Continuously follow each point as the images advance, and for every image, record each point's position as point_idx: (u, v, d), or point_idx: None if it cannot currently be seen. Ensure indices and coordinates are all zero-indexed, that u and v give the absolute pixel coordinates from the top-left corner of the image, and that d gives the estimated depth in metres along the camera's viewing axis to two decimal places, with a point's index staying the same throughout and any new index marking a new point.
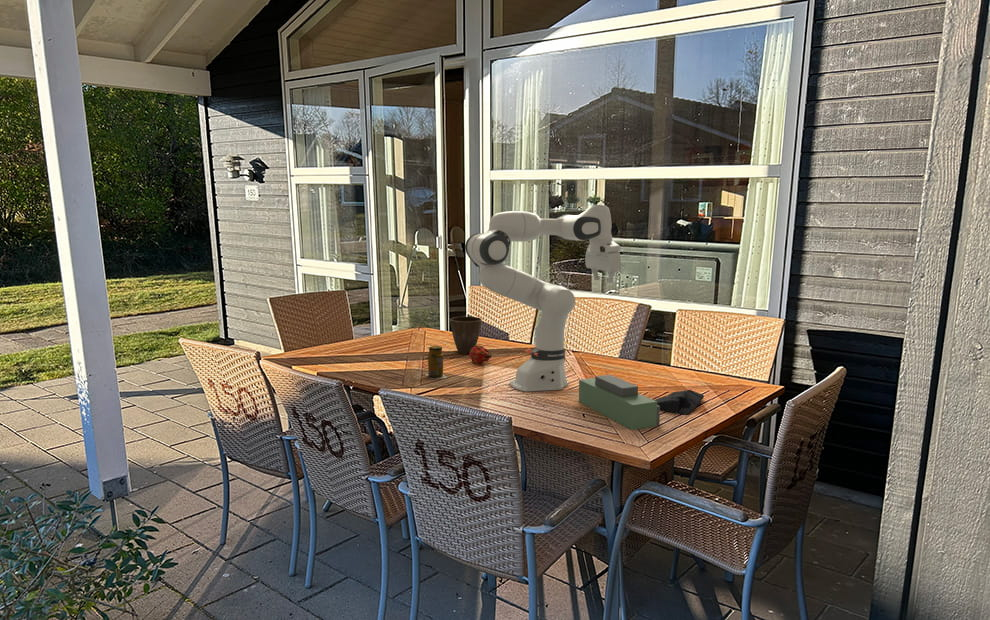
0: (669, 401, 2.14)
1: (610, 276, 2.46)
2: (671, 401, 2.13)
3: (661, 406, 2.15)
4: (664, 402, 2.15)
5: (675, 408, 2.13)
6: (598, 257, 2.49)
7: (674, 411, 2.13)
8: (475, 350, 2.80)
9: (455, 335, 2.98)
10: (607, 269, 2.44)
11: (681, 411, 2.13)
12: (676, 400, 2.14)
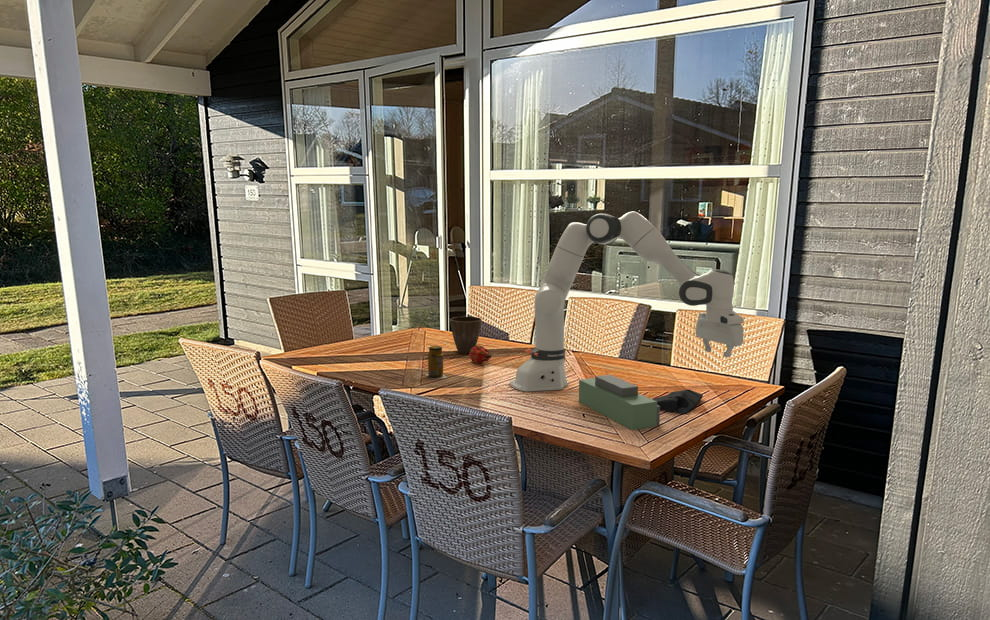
0: (667, 400, 2.15)
1: (728, 350, 2.21)
2: (669, 400, 2.14)
3: (659, 405, 2.16)
4: (662, 401, 2.16)
5: (673, 408, 2.14)
6: (715, 327, 2.25)
7: (672, 410, 2.14)
8: (475, 350, 2.80)
9: (455, 335, 2.98)
10: (726, 342, 2.19)
11: (679, 410, 2.13)
12: (674, 399, 2.15)
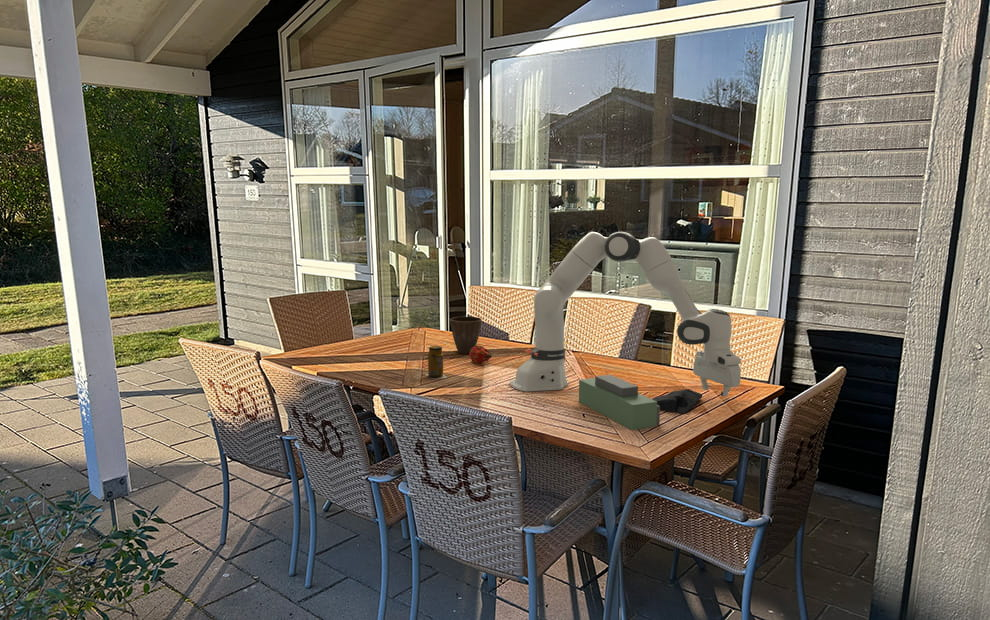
0: (666, 400, 2.15)
1: (726, 390, 2.23)
2: (668, 400, 2.15)
3: None
4: (661, 401, 2.16)
5: (672, 407, 2.14)
6: (712, 367, 2.27)
7: (671, 410, 2.14)
8: (475, 350, 2.80)
9: (455, 335, 2.98)
10: (724, 382, 2.22)
11: (678, 410, 2.14)
12: (673, 399, 2.15)
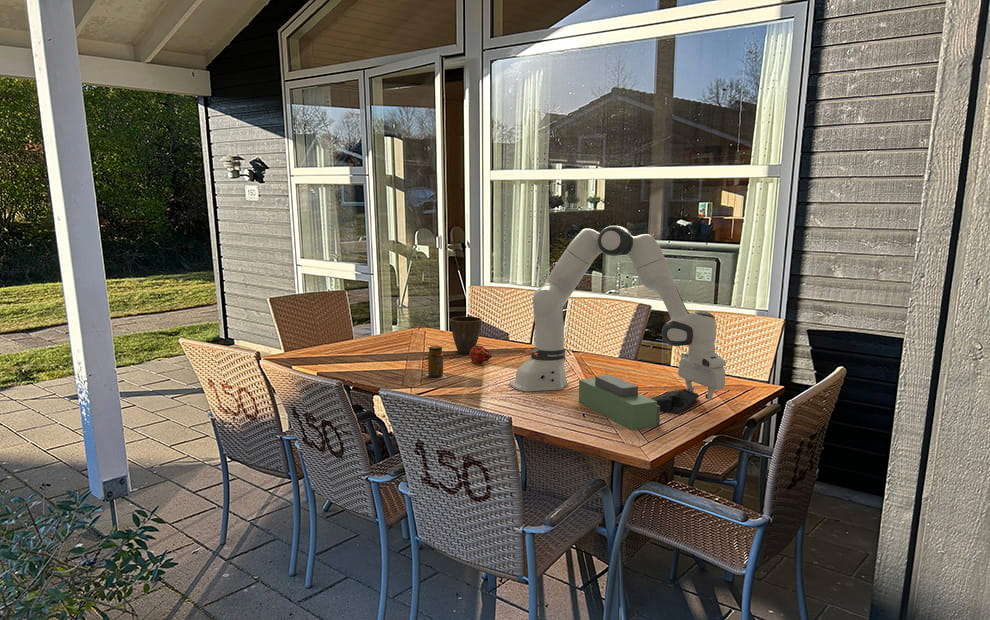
0: (661, 400, 2.15)
1: (710, 392, 2.20)
2: (663, 400, 2.14)
3: None
4: None
5: (667, 407, 2.14)
6: (697, 369, 2.24)
7: (666, 410, 2.14)
8: (475, 350, 2.80)
9: (455, 335, 2.98)
10: (708, 385, 2.19)
11: (673, 410, 2.13)
12: (668, 399, 2.15)
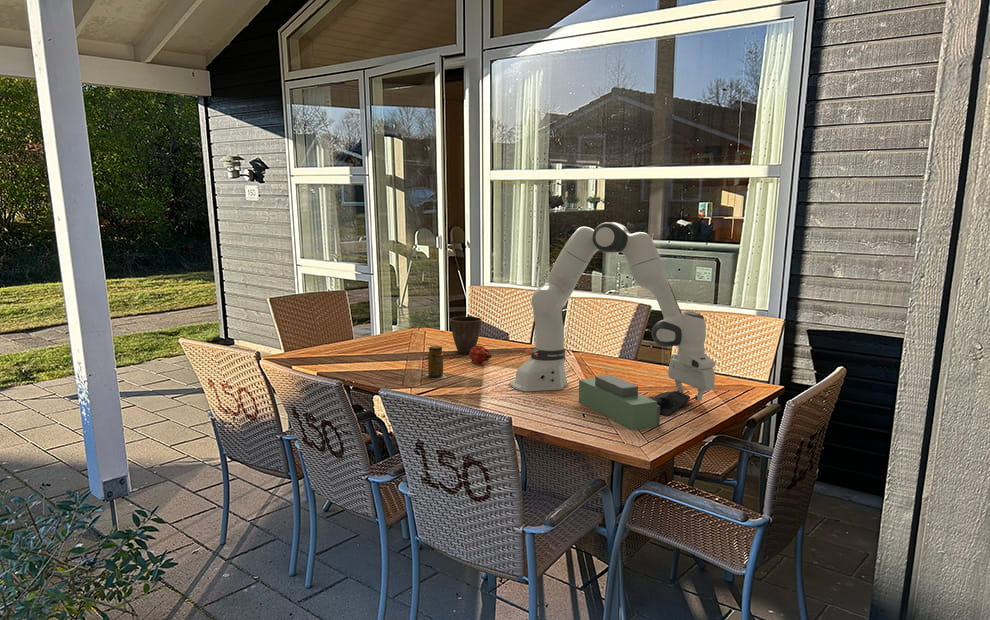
0: None
1: (700, 394, 2.19)
2: None
3: None
4: None
5: None
6: (686, 370, 2.23)
7: None
8: (475, 350, 2.80)
9: (455, 335, 2.98)
10: (698, 386, 2.17)
11: (663, 412, 2.11)
12: (658, 401, 2.13)
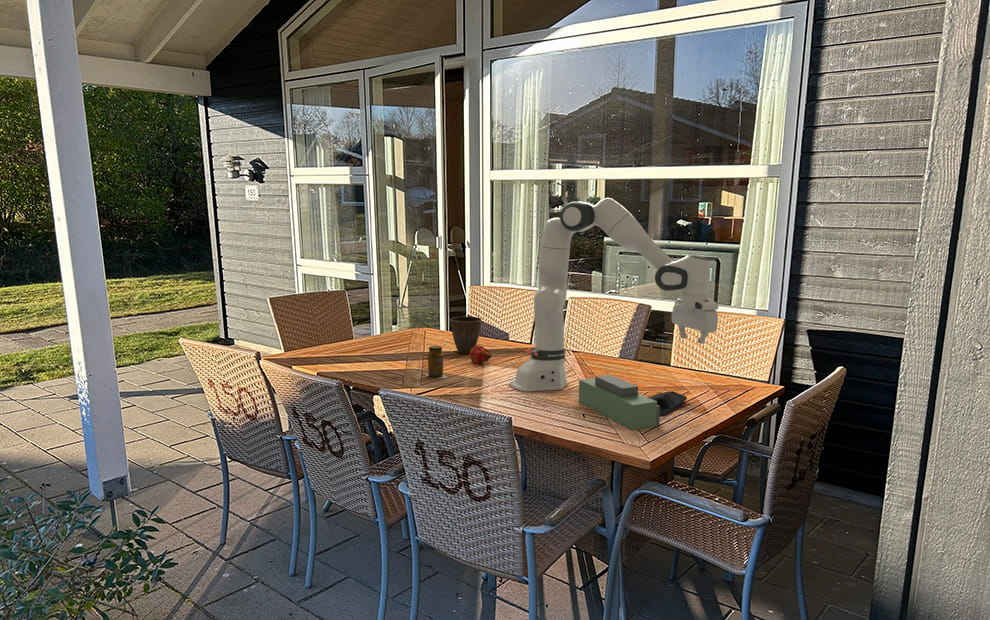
0: None
1: (703, 336, 2.19)
2: None
3: None
4: None
5: None
6: (690, 313, 2.23)
7: None
8: (475, 350, 2.80)
9: (455, 335, 2.98)
10: (700, 328, 2.18)
11: None
12: None
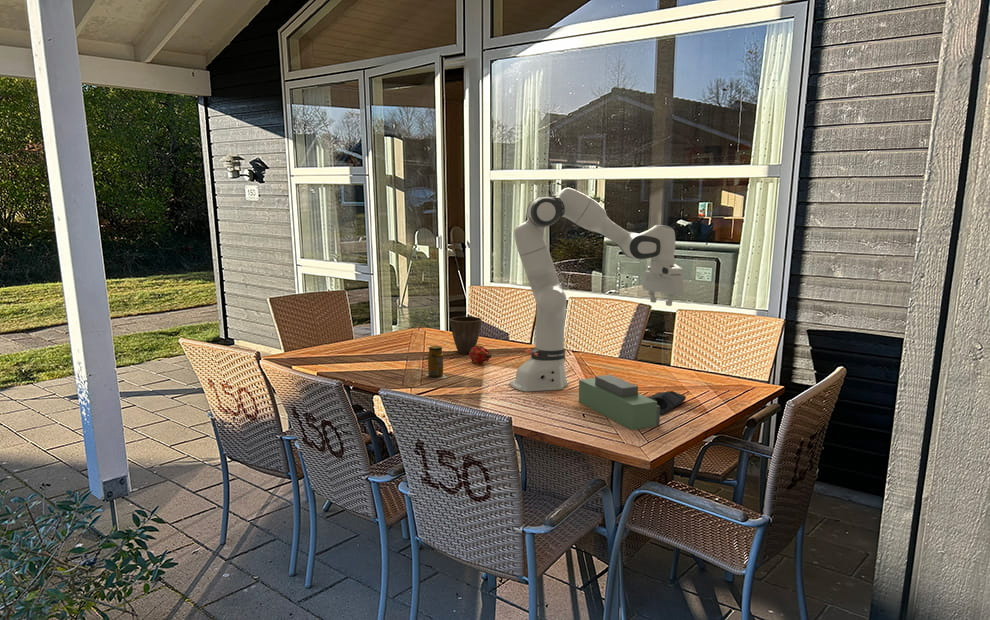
0: None
1: (670, 299, 2.40)
2: None
3: None
4: None
5: None
6: (658, 279, 2.44)
7: None
8: (475, 350, 2.80)
9: (455, 335, 2.98)
10: (668, 291, 2.39)
11: None
12: None
